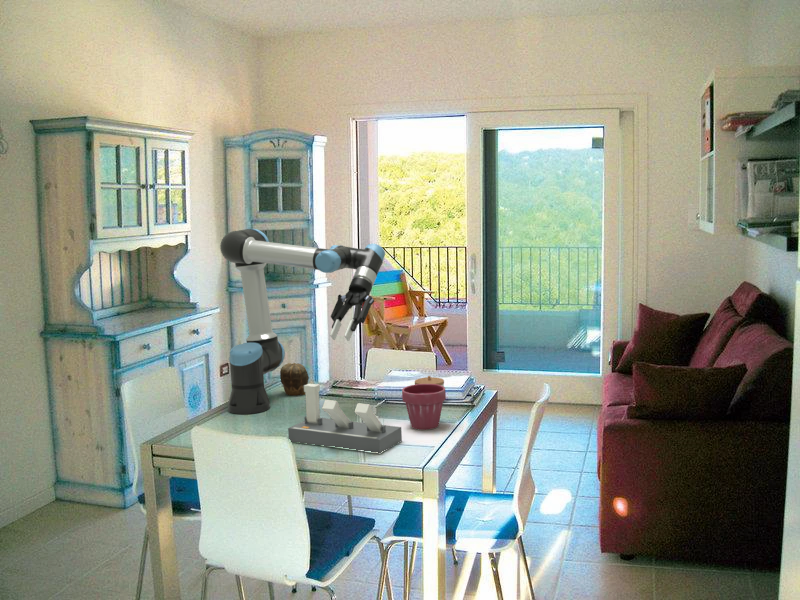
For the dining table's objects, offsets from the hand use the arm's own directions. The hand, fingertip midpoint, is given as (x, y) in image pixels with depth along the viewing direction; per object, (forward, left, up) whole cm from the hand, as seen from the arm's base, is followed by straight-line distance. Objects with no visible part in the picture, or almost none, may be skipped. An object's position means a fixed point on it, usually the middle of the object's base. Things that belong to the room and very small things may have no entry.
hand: (339, 337), depth 288 cm
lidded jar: (+31, +24, -30) cm, 49 cm away
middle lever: (+1, -21, -24) cm, 32 cm away
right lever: (+11, -27, -24) cm, 37 cm away
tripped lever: (-9, -15, -24) cm, 30 cm away
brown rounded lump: (-20, +44, -29) cm, 57 cm away
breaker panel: (+1, -21, -29) cm, 36 cm away
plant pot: (+27, -8, -29) cm, 41 cm away
